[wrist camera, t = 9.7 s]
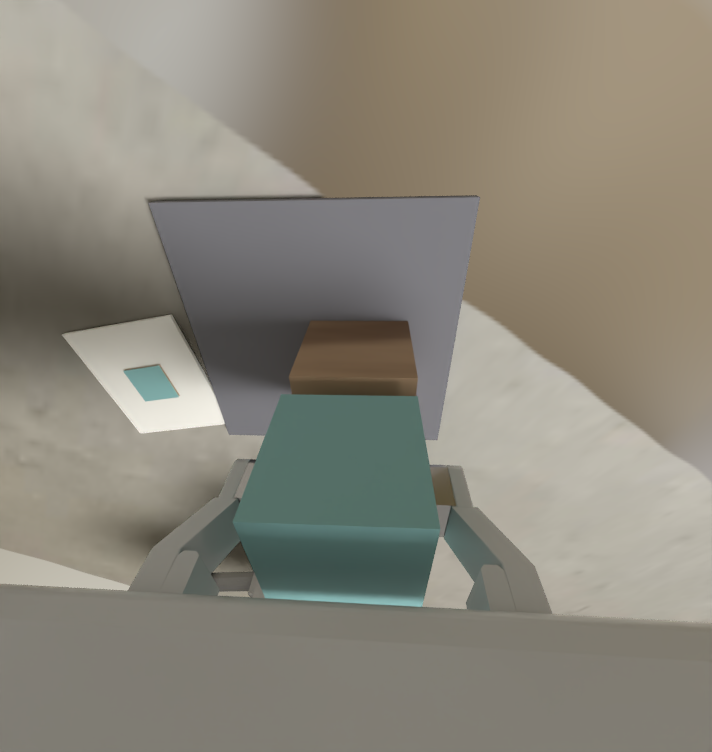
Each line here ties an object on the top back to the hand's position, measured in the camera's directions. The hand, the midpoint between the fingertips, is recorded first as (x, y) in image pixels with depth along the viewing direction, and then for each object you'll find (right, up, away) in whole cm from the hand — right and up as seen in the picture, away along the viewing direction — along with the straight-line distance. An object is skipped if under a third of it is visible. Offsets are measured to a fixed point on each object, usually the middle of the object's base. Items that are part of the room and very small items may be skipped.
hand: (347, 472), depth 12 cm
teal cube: (0, +1, +1) cm, 2 cm away
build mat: (-1, +5, +6) cm, 8 cm away
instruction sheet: (-12, +3, +8) cm, 15 cm away
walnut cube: (+1, +4, +6) cm, 8 cm away
